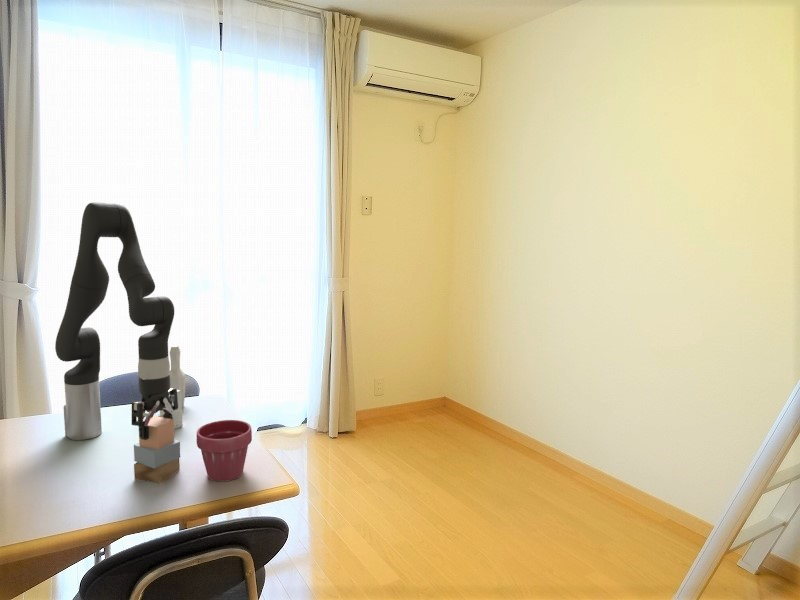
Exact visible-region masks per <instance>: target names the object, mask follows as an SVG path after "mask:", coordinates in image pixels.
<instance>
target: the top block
mask: <svg viewBox="0 0 800 600" xmlns="http://www.w3.org/2000/svg"><path fill="white" fill-rule="evenodd" d="M178 458H179V459H180V458H181V442H180V441H179V440H177V439H174V441H173V442H171V443H169V444H167V445H165V446H164V447H162V448H160V449H154V448H149V447H143V446H139V442H137V443H135V444H133V459H134V461H133V462H135V463H137V462H138V463H141V464H143V465H146V466H149V467H151V468H154V469H155V468H157V467H159V466H162V465H164V464H166V463H169V462H171V461H173V460H176V459H178Z"/></svg>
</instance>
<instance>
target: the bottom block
mask: <svg viewBox="0 0 800 600" xmlns="http://www.w3.org/2000/svg"><path fill="white" fill-rule="evenodd" d="M180 467H181V466H180V458H178V459H176V460H173V461H171V462H169V463H166V464H164V465H162V466H159V467H157V468H155V469H154V468H151V467H149V466H146V465H143V464H141V463H138V462H135V463H134V464H133V470H134V471H133V473H134V474H133V475H134V476H133V477H134V481H142V482H148V483H149V482H150V483H156V484H157V483H158V484H164V483H165V482H166V481H167V480H169V479H170V478H171V477H172V476H174V475H175V474H176V473H177V472H179V471H180Z"/></svg>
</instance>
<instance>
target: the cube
mask: <svg viewBox="0 0 800 600" xmlns="http://www.w3.org/2000/svg"><path fill="white" fill-rule="evenodd" d="M148 426H149V439H147V440H143V439H141V438H140V437H139V436H138V443H139V446H143V447H149V448H154V449H160V448H162V447H164V446H165V445H167V444H169V443H171V442H173V441H174V440H175V429H174V419H169V418H163V417H158V416H156V415H153V417H152V418H151V419H150V421H149V423H148Z"/></svg>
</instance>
